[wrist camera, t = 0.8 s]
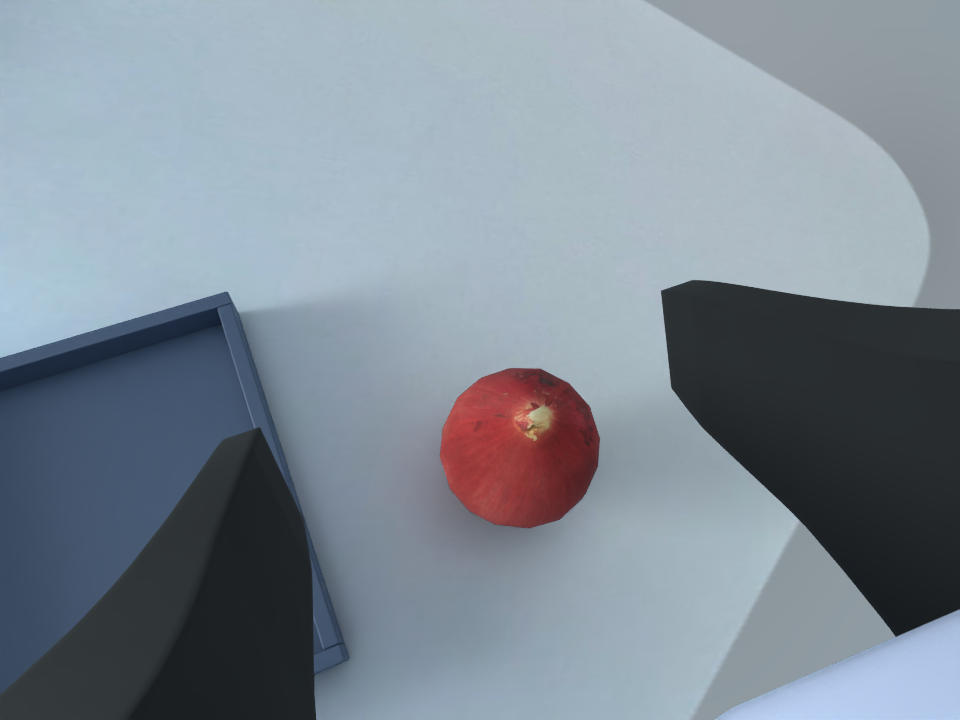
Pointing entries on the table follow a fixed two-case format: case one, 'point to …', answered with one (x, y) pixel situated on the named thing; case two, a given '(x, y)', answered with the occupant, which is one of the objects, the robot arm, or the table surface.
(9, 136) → the table surface
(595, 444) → the red pomegranate
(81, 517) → the tray
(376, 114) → the table surface
